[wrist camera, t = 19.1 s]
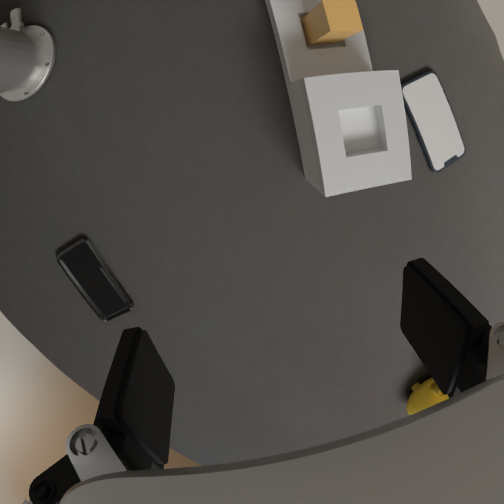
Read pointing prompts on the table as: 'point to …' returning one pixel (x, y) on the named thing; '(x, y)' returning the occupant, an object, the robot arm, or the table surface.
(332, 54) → the white stepped socket block
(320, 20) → the plug
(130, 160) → the table surface
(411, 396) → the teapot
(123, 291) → the phone
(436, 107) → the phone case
